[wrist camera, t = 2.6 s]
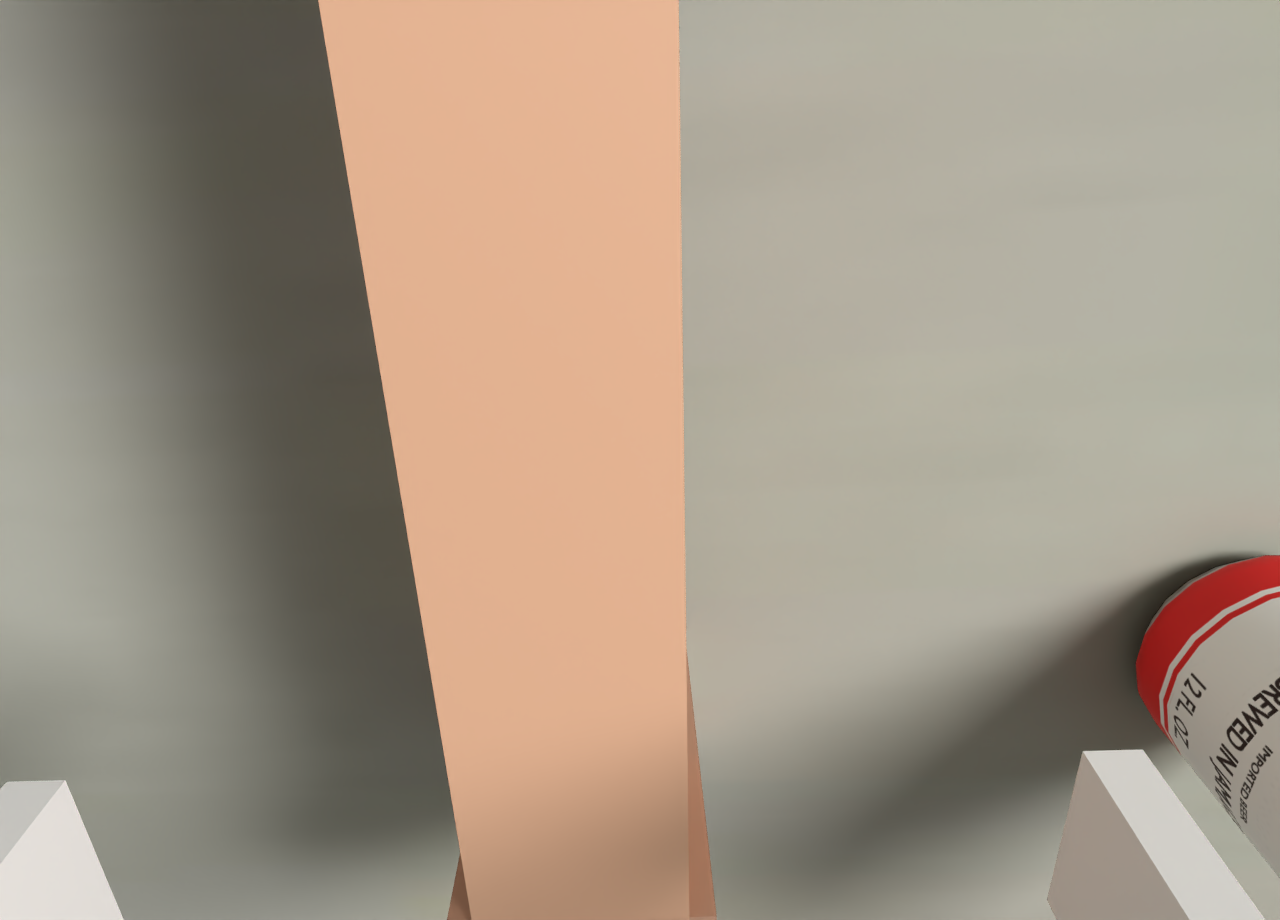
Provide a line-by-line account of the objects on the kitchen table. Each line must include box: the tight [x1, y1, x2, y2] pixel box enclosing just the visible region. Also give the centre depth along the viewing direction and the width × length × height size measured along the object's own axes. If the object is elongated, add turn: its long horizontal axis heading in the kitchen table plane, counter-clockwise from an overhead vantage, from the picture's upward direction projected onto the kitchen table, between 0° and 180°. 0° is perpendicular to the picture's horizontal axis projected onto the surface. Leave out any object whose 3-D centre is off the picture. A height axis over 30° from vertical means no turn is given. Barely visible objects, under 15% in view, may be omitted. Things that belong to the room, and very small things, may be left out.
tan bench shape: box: [318, 0, 716, 920], centre depth 16 cm, size 5×30×9 cm, turn 2°
